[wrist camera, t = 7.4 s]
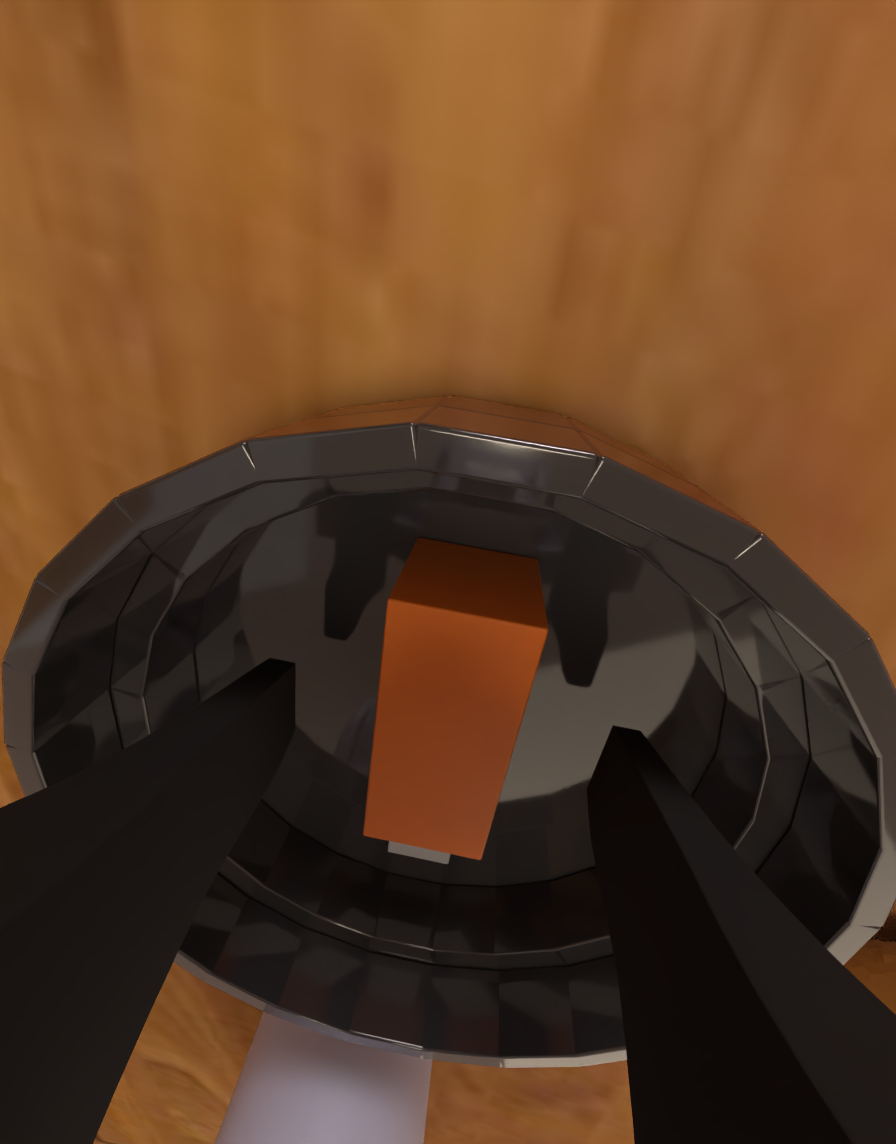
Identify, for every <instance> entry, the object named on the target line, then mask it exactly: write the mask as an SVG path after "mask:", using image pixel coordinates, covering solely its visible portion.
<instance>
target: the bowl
mask: <svg viewBox="0 0 896 1144" xmlns="http://www.w3.org/2000/svg"><path fill="white" fill-rule="evenodd" d="M419 537H420V538H425V539H430V540H436V541H441V542H447V543H452V544H458V545H463V546H468V547H474V548H479V549H485V550H490V551H496V552H501V553H506V554H512V555H517V556H523V557H528V558H534V559H537V560H538V564H539V571H540V577H541V584H542V591H543V597H544V604H545V611H546V617H547V624H548V634H547V638H546V641H545V644H544V648H543V651H542V655H541V658H540V661H539V665H538V668H537V672H536V675H535V678H534V682H533V685H532V689H531V692H530V695H529V699H528V702H527V706H526V709H525V712H524V716H523V719H522V723H521V726H520V729H519V733H518V736H517V740H516V743H515V746H514V750H513V753H512V757H511V760H510V763H509V767H508V770H507V774H506V777H505V780H504V784H503V787H502V791H501V794H500V797H499V801H498V804H497V808H496V811H495V814H494V818H493V821H492V825H491V828H490V831H489V835H488V838H487V842H486V845H485V848H484V852H483V855H482V858H481V860H477V859H472V858H468V857H463V856H458V855H453V854H451V855H450V859H449V863H448V864H444V863H439V862H434V861H430V860H425V859H420V858H415V857H411V856H406V855H401V854H396V853H392V852H388V844H389V841H387V840H382V839H377V838H373V837H368V836H364V835H363V828H364V819H365V809H366V800H367V790H368V781H369V771H370V762H371V752H372V743H373V733H374V724H375V714H376V704H377V695H378V685H379V676H380V666H381V657H382V647H383V638H384V628H385V619H386V609H387V600H388V598H389V596H390V594H391V592H392V590H393V588H394V586H395V583H396V581H397V579H398V577H399V575H400V573H401V571H402V569H403V567H404V565H405V563H406V561H407V559H408V557H409V554H410V552H411V550H412V548H413V546H414V544H415V542H416V540H417V538H419ZM268 658H274V659H279V660H284V661H289V662H294V663H296V692H295V732H294V734H293V736H292V739H291V741H290V743H289V746H288V748H287V750H286V753H285V755H284V757H283V759H282V761H281V764H280V766H279V768H278V770H277V772H276V774H275V776H274V778H273V779H272V781H271V783H270V784H269V786H268V788H267V790H266V791H265V793H264V795H263V796H262V798H261V800H260V802H259V803H258V805H257V807H256V808H255V810H254V812H253V813H252V815H251V817H250V819H249V820H248V822H247V824H246V825H245V827H244V829H243V830H242V832H241V834H240V835H239V837H238V839H237V840H236V842H235V844H234V846H233V847H232V849H231V851H230V852H229V854H228V856H227V857H226V859H225V861H224V862H223V864H222V866H221V867H220V869H219V871H218V873H217V875H216V876H215V878H214V880H213V882H212V884H211V886H210V887H209V889H208V891H207V893H206V895H205V897H204V899H203V901H202V903H201V905H200V907H199V909H198V911H197V913H196V915H195V917H194V919H193V921H192V924H191V926H190V928H189V930H188V932H187V934H186V936H185V938H184V940H183V942H182V944H181V946H180V948H179V950H178V953H177V955H176V957H175V959H174V962H175V963H177V964H178V965H180V966H181V967H183V968H184V969H185V970H187V971H188V972H190V973H191V974H193V975H194V976H196V977H197V978H199V979H201V980H202V981H203V982H205V983H207V984H209V985H211V986H213V987H215V988H217V989H219V990H221V991H223V992H225V993H227V994H230V995H232V996H234V997H236V998H238V999H240V1000H242V1001H244V1002H246V1003H248V1004H250V1005H252V1006H254V1007H256V1008H258V1009H260V1010H262V1011H264V1012H266V1013H268V1014H271V1015H272V1016H275V1017H277V1018H280V1019H283V1020H286V1021H289V1022H292V1023H294V1024H297V1025H300V1026H303V1027H306V1028H308V1029H311V1030H314V1031H317V1032H320V1033H323V1034H325V1035H328V1036H331V1037H334V1038H337V1039H340V1040H342V1041H345V1040H346V1041H347V1042H352V1043H356V1044H360V1045H365V1046H369V1047H373V1048H378V1049H382V1050H387V1051H391V1052H395V1053H400V1054H404V1055H408V1056H413V1057H417V1058H422V1057H423V1059H428V1060H437V1061H446V1062H455V1063H465V1064H474V1065H483V1066H492V1067H504V1068H517V1067H582V1066H583V1065H585V1066H589V1065H596V1064H603V1063H610V1062H616V1061H623V1060H627V1054H626V1045H625V1036H624V1027H623V1019H622V1010H621V1001H620V992H619V984H618V978H617V972H616V966H615V960H614V954H613V949H612V944H611V939H610V934H609V929H608V924H607V919H606V914H605V909H604V904H603V899H602V894H601V889H600V884H599V879H598V874H597V869H596V864H595V859H594V853H593V848H592V843H591V837H590V827H589V816H588V801H587V787H588V784H589V782H590V779H591V777H592V775H593V772H594V770H595V767H596V765H597V762H598V760H599V758H600V755H601V753H602V750H603V748H604V746H605V743H606V741H607V738H608V736H609V733H610V731H611V729H612V726H613V725H614V726H619V727H624V728H630V729H635V730H640V731H641V732H642V733H643V734H644V736H645V737H646V738H647V739H648V741H649V742H650V743H651V744H652V746H653V747H654V748H655V750H656V751H657V752H658V754H659V755H660V756H661V758H662V759H663V760H664V762H665V763H666V764H667V766H668V767H669V768H670V770H671V771H672V772H673V773H674V775H675V776H676V777H677V779H678V780H679V781H680V783H681V784H682V785H683V787H684V788H685V789H686V790H687V792H688V793H689V794H690V796H691V797H692V798H693V799H694V801H695V802H696V803H697V805H698V806H699V807H700V808H701V810H702V811H703V812H704V813H705V815H706V816H707V817H708V818H709V820H710V821H711V822H712V823H713V825H714V826H715V827H716V828H717V829H718V831H719V832H720V833H721V834H722V835H723V837H724V838H725V839H726V840H727V841H728V843H729V844H730V845H731V846H732V847H733V849H734V850H735V851H736V852H737V853H738V854H739V855H740V857H741V858H742V859H743V860H744V861H745V862H746V864H747V865H748V866H749V867H750V868H751V869H752V870H753V872H754V873H755V874H756V875H757V876H758V877H759V878H760V880H761V881H762V882H763V883H764V884H765V885H766V886H767V887H768V888H769V889H770V891H771V892H772V893H773V894H774V895H775V896H776V897H777V898H778V899H779V900H780V901H781V902H782V903H783V905H784V906H785V907H786V908H787V909H788V910H789V911H790V912H791V913H792V914H793V915H794V916H795V917H796V918H797V919H798V920H799V921H800V922H801V923H802V924H803V925H804V926H805V927H806V928H807V929H808V930H809V932H810V933H811V934H812V935H813V936H814V937H815V938H816V939H817V940H818V941H819V942H820V943H821V944H822V945H823V946H824V947H825V948H826V949H827V950H828V951H829V952H830V953H831V954H832V955H833V956H834V957H835V958H836V959H837V960H838V961H839V962H840V963H841V964H842V965H844V964H845V963H846V962H847V961H848V960H849V959H850V958H851V957H852V956H853V955H854V954H856V953H857V952H858V951H859V950H860V949H861V948H862V947H863V946H864V945H865V944H866V943H867V942H868V941H869V940H870V939H871V938H872V937H873V936H874V935H875V934H876V933H877V932H878V931H879V930H880V929H881V927H882V926H884V924H885V922H886V920H887V918H888V916H889V914H890V912H891V910H892V908H893V906H894V903H895V901H896V689H895V687H894V685H893V683H892V680H891V678H890V676H889V674H888V672H887V669H886V667H885V665H884V663H883V661H882V659H881V656H880V654H879V652H878V650H877V648H876V645H875V643H874V641H873V639H872V638H870V636H869V633H868V632H867V631H866V630H865V629H864V628H863V627H862V626H861V625H860V624H859V623H858V622H857V621H855V620H854V619H853V618H852V617H851V616H850V615H849V614H848V613H847V612H846V611H845V610H844V609H843V608H842V607H841V606H840V605H839V604H838V603H837V602H836V601H834V600H833V599H832V598H831V597H830V596H829V595H828V594H827V593H826V592H825V591H824V590H823V589H822V588H821V587H820V586H819V585H818V584H817V583H816V582H815V581H813V580H812V579H811V578H810V577H809V576H808V575H807V574H806V573H805V572H804V571H803V570H802V569H801V568H800V567H799V566H798V565H797V564H796V563H795V562H794V561H792V560H791V559H790V558H789V557H788V556H787V555H786V554H785V553H784V552H783V551H782V550H781V549H780V548H779V547H778V546H777V545H776V544H775V543H774V542H772V541H771V540H770V539H769V538H768V537H767V536H766V535H765V534H764V533H763V532H761V531H760V530H758V529H757V528H755V527H754V526H753V525H751V524H750V523H748V522H747V521H745V520H744V519H743V518H741V517H740V516H738V515H737V514H735V513H734V512H733V511H731V510H730V509H728V508H727V507H725V506H724V505H723V504H721V503H720V502H718V501H717V500H716V499H714V498H713V497H711V496H710V495H708V494H707V493H705V492H704V491H703V490H701V489H700V488H698V487H697V486H696V485H694V484H693V483H691V482H690V481H689V480H687V479H686V478H684V477H683V476H681V475H680V474H679V473H677V472H676V471H674V470H673V469H671V468H670V467H669V466H667V465H665V464H664V463H662V462H661V461H659V460H656V459H654V458H652V457H650V456H648V455H646V454H644V453H642V452H640V451H638V450H636V449H634V448H632V447H630V446H628V445H626V444H624V443H621V442H619V441H617V440H615V439H613V438H611V437H609V436H607V435H605V434H603V433H601V432H599V431H597V430H595V429H593V428H591V427H588V426H586V425H584V424H582V423H580V422H578V421H576V420H574V419H572V418H570V417H564V416H563V415H562V414H558V413H552V412H546V411H541V410H535V409H529V408H523V407H517V406H511V405H506V404H500V403H494V402H488V401H482V400H476V399H471V398H465V397H459V396H451V397H450V398H449V397H448V396H438V397H429V398H420V399H411V400H402V401H393V402H384V403H376V404H367V405H358V406H349V407H344V408H341V409H335V410H332V411H329V412H326V413H323V414H320V415H317V416H314V417H311V418H308V419H305V420H302V421H300V422H296V423H293V424H290V425H287V426H284V427H281V428H278V429H275V430H272V431H269V432H266V433H263V434H260V435H257V436H254V437H251V438H248V439H244V440H241V441H239V442H237V443H235V444H232V445H230V446H228V447H225V448H223V449H221V450H219V451H216V452H214V453H212V454H209V455H207V456H205V457H203V458H200V459H198V460H196V461H194V462H191V463H189V464H187V465H184V466H182V467H180V468H178V469H175V470H173V471H171V472H169V473H166V474H164V475H162V476H159V477H157V478H155V479H153V480H150V481H148V482H146V483H143V484H141V485H139V486H137V487H134V488H132V489H130V490H128V491H125V492H123V493H121V494H120V495H119V496H118V497H115V498H113V499H112V500H111V501H110V502H109V503H108V504H107V505H106V506H105V507H104V508H103V509H102V510H101V511H100V512H99V513H98V514H97V515H96V516H95V517H94V518H93V519H92V520H91V521H90V522H89V523H88V524H87V525H86V526H85V527H84V528H83V529H82V530H81V531H80V532H79V533H78V534H77V535H76V536H75V537H74V538H73V539H72V540H71V541H70V542H69V543H68V544H67V545H66V546H65V547H64V548H63V549H62V550H61V551H60V552H59V553H58V554H57V555H56V556H55V557H54V558H53V559H52V560H51V561H50V562H49V563H48V564H47V565H46V566H45V567H44V568H43V569H42V570H41V571H40V572H39V573H38V574H37V577H36V578H35V579H34V582H33V584H32V587H31V589H30V592H29V595H28V597H27V600H26V602H25V605H24V607H23V610H22V613H21V615H20V618H19V620H18V623H17V625H16V628H15V630H14V633H13V636H12V638H11V641H10V643H9V646H8V648H7V651H6V654H5V656H4V659H3V660H4V661H3V663H2V687H3V717H4V743H5V744H6V748H7V751H8V753H9V756H10V758H11V761H12V764H13V766H14V769H15V772H16V774H17V777H18V779H19V782H20V785H21V787H22V790H23V793H24V795H25V797H26V796H29V795H31V794H33V793H35V792H38V791H40V790H42V789H44V788H47V787H49V786H51V785H53V784H56V783H58V782H60V781H62V780H64V779H66V778H68V777H70V776H73V775H75V774H77V773H78V772H80V771H82V770H84V769H86V768H88V767H90V766H92V765H94V764H96V763H98V762H100V761H102V760H104V759H106V758H108V757H110V756H112V755H114V754H116V753H118V752H119V751H121V750H123V749H125V748H127V747H129V746H130V745H132V744H134V743H136V742H138V741H139V740H141V739H143V738H144V737H146V736H148V735H149V734H151V733H153V732H154V731H156V730H158V729H160V728H161V727H163V726H165V725H166V724H168V723H170V722H171V721H173V720H175V719H176V718H178V717H180V716H181V715H183V714H185V713H186V712H188V711H189V710H191V709H192V708H194V707H195V706H197V705H199V704H200V703H202V702H203V701H205V700H206V699H208V698H209V697H211V696H213V695H214V694H216V693H217V692H219V691H220V690H222V689H223V688H225V687H226V686H228V685H229V684H231V683H232V682H234V681H235V680H237V679H238V678H240V677H241V676H243V675H244V674H246V673H247V672H249V671H250V670H252V669H253V668H255V667H256V666H258V665H259V664H261V663H262V662H264V661H265V660H267V659H268Z"/></svg>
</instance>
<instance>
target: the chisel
mask: <svg viewBox="0 0 896 1144" xmlns="http://www.w3.org/2000/svg"><path fill="white" fill-rule="evenodd" d="M547 634H548V624H547V617H546V611H545V604H544V597H543V591H542V584H541V577H540V571H539V564H538V560H537V559H534V558H528V557H523V556H517V555H512V554H506V553H501V552H496V551H490V550H485V549H479V548H474V547H468V546H463V545H458V544H452V543H447V542H441V541H436V540H430V539H425V538H420V537H419V538H417V540H416V542H415V544H414V546H413V548H412V550H411V552H410V554H409V557H408V559H407V561H406V563H405V565H404V567H403V569H402V571H401V573H400V575H399V577H398V579H397V581H396V583H395V586H394V588H393V590H392V592H391V594H390V596H389V598H388V600H387V609H386V619H385V628H384V638H383V647H382V657H381V666H380V676H379V685H378V695H377V704H376V714H375V724H374V733H373V743H372V752H371V762H370V771H369V781H368V790H367V800H366V809H365V819H364V828H363V835H364V836H368V837H373V838H377V839H382V840H387V841H389V844H388V852H392V853H396V854H401V855H406V856H411V857H415V858H420V859H425V860H430V861H434V862H439V863H444V864H448V863H449V859H450V855H451V854H453V855H458V856H463V857H468V858H472V859H477V860H481V858H482V855H483V852H484V848H485V845H486V842H487V838H488V835H489V831H490V828H491V825H492V821H493V818H494V814H495V811H496V808H497V804H498V801H499V797H500V794H501V791H502V787H503V784H504V780H505V777H506V774H507V770H508V767H509V763H510V760H511V757H512V753H513V750H514V746H515V743H516V740H517V736H518V733H519V729H520V726H521V723H522V719H523V716H524V712H525V709H526V706H527V702H528V699H529V695H530V692H531V689H532V685H533V682H534V678H535V675H536V672H537V668H538V665H539V661H540V658H541V655H542V651H543V648H544V644H545V641H546V638H547Z"/></svg>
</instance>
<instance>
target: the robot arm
mask: <svg viewBox="0 0 896 1144" xmlns="http://www.w3.org/2000/svg"><path fill="white" fill-rule="evenodd" d="M295 692H296V663H294V662H289V661H284V660H279V659H274V658H268V659H267V660H265V661H264V662H262V663H261V664H259V665H258V666H256V667H255V668H253V669H252V670H250V671H249V672H247V673H246V674H244V675H243V676H241V677H240V678H238V679H237V680H235V681H234V682H232V683H231V684H229V685H228V686H226V687H225V688H223V689H222V690H220V691H219V692H217V693H216V694H214V695H213V696H211V697H209V698H208V699H206V700H205V701H203V702H202V703H200V704H199V705H197V706H195V707H194V708H192V709H191V710H189V711H188V712H186V713H185V714H183V715H181V716H180V717H178V718H176V719H175V720H173V721H171V722H170V723H168V724H166V725H165V726H163V727H161V728H160V729H158V730H156V731H154V732H153V733H151V734H149V735H148V736H146V737H144V738H143V739H141V740H139V741H138V742H136V743H134V744H132V745H130V746H129V747H127V748H125V749H123V750H121V751H119V752H118V753H116V754H114V755H112V756H110V757H108V758H106V759H104V760H102V761H100V762H98V763H96V764H94V765H92V766H90V767H88V768H86V769H84V770H82V771H80V772H78V773H77V774H75V775H73V776H70V777H68V778H66V779H64V780H62V781H60V782H58V783H56V784H53V785H51V786H49V787H47V788H44V789H42V790H40V791H38V792H35V793H33V794H31V795H29V796H26V797H24V798H22V799H20V800H17V801H15V802H13V803H11V804H8V805H6V806H4V807H2V808H0V1144H93V1142H94V1139H95V1137H96V1135H97V1132H98V1130H99V1128H100V1125H101V1123H102V1121H103V1118H104V1116H105V1113H106V1111H107V1109H108V1106H109V1104H110V1102H111V1099H112V1097H113V1094H114V1092H115V1090H116V1087H117V1085H118V1083H119V1081H120V1078H121V1076H122V1074H123V1072H124V1069H125V1067H126V1065H127V1063H128V1060H129V1058H130V1056H131V1054H132V1051H133V1049H134V1047H135V1045H136V1042H137V1040H138V1038H139V1036H140V1033H141V1031H142V1029H143V1027H144V1024H145V1022H146V1020H147V1018H148V1015H149V1013H150V1011H151V1009H152V1006H153V1004H154V1002H155V1000H156V998H157V996H158V994H159V991H160V989H161V987H162V985H163V983H164V981H165V978H166V976H167V974H168V972H169V970H170V968H171V966H172V963H173V961H174V959H175V957H176V955H177V953H178V950H179V948H180V946H181V944H182V942H183V940H184V938H185V936H186V934H187V932H188V930H189V928H190V926H191V924H192V921H193V919H194V917H195V915H196V913H197V911H198V909H199V907H200V905H201V903H202V901H203V899H204V897H205V895H206V893H207V891H208V889H209V887H210V886H211V884H212V882H213V880H214V878H215V876H216V875H217V873H218V871H219V869H220V867H221V866H222V864H223V862H224V861H225V859H226V857H227V856H228V854H229V852H230V851H231V849H232V847H233V846H234V844H235V842H236V840H237V839H238V837H239V835H240V834H241V832H242V830H243V829H244V827H245V825H246V824H247V822H248V820H249V819H250V817H251V815H252V813H253V812H254V810H255V808H256V807H257V805H258V803H259V802H260V800H261V798H262V796H263V795H264V793H265V791H266V790H267V788H268V786H269V784H270V783H271V781H272V779H273V778H274V776H275V774H276V772H277V770H278V768H279V766H280V764H281V761H282V759H283V757H284V755H285V753H286V750H287V748H288V746H289V743H290V741H291V739H292V736H293V734H294V732H295ZM587 801H588V816H589V827H590V837H591V843H592V848H593V853H594V859H595V864H596V869H597V874H598V879H599V884H600V889H601V894H602V899H603V904H604V909H605V914H606V919H607V924H608V929H609V934H610V939H611V944H612V949H613V954H614V960H615V966H616V972H617V978H618V984H619V992H620V1001H621V1010H622V1019H623V1027H624V1036H625V1045H626V1054H627V1065H628V1075H629V1085H630V1096H631V1106H632V1116H633V1128H634V1141H635V1144H896V1014H894V1013H893V1012H892V1011H891V1010H890V1009H889V1008H888V1007H887V1006H886V1005H885V1004H884V1003H883V1002H882V1001H881V1000H879V999H878V998H877V997H876V996H875V995H874V994H873V993H872V992H871V991H870V990H869V989H868V988H867V987H866V986H865V985H864V984H863V983H861V982H860V981H859V980H858V979H857V978H856V977H855V976H854V975H853V974H852V973H851V972H850V971H849V970H848V969H847V968H846V967H845V966H843V965H842V964H841V963H840V962H839V961H838V960H837V959H836V958H835V957H834V956H833V955H832V954H831V953H830V952H829V951H828V950H827V949H826V948H825V947H824V946H823V945H822V944H821V943H820V942H819V941H818V940H817V939H816V938H815V937H814V936H813V935H812V934H811V933H810V932H809V930H808V929H807V928H806V927H805V926H804V925H803V924H802V923H801V922H800V921H799V920H798V919H797V918H796V917H795V916H794V915H793V914H792V913H791V912H790V911H789V910H788V909H787V908H786V907H785V906H784V905H783V903H782V902H781V901H780V900H779V899H778V898H777V897H776V896H775V895H774V894H773V893H772V892H771V891H770V889H769V888H768V887H767V886H766V885H765V884H764V883H763V882H762V881H761V880H760V878H759V877H758V876H757V875H756V874H755V873H754V872H753V870H752V869H751V868H750V867H749V866H748V865H747V864H746V862H745V861H744V860H743V859H742V858H741V857H740V855H739V854H738V853H737V852H736V851H735V850H734V849H733V847H732V846H731V845H730V844H729V843H728V841H727V840H726V839H725V838H724V837H723V835H722V834H721V833H720V832H719V831H718V829H717V828H716V827H715V826H714V825H713V823H712V822H711V821H710V820H709V818H708V817H707V816H706V815H705V813H704V812H703V811H702V810H701V808H700V807H699V806H698V805H697V803H696V802H695V801H694V799H693V798H692V797H691V796H690V794H689V793H688V792H687V790H686V789H685V788H684V787H683V785H682V784H681V783H680V781H679V780H678V779H677V777H676V776H675V775H674V773H673V772H672V771H671V770H670V768H669V767H668V766H667V764H666V763H665V762H664V760H663V759H662V758H661V756H660V755H659V754H658V752H657V751H656V750H655V748H654V747H653V746H652V744H651V743H650V742H649V741H648V739H647V738H646V737H645V736H644V734H643V733H642V732H641V731H640V730H635V729H630V728H624V727H619V726H614V725H613V726H612V729H611V731H610V733H609V736H608V738H607V741H606V743H605V746H604V748H603V750H602V753H601V755H600V758H599V760H598V762H597V765H596V767H595V770H594V772H593V775H592V777H591V779H590V782H589V784H588V787H587ZM431 1066H432V1060H428V1059H423V1057H422V1058H417V1057H413V1056H408V1055H404V1054H400V1053H395V1052H391V1051H387V1050H382V1049H378V1048H373V1047H369V1046H365V1045H360V1044H356V1043H352V1042H347V1041H346V1040H345V1041H342V1040H340V1039H337V1038H334V1037H331V1036H328V1035H325V1034H323V1033H320V1032H317V1031H314V1030H311V1029H308V1028H306V1027H303V1026H300V1025H297V1024H294V1023H292V1022H289V1021H286V1020H283V1019H280V1018H277V1017H275V1016H272V1015H271V1014H268V1013H266V1012H264V1011H263V1014H262V1016H261V1019H260V1022H259V1025H258V1027H257V1030H256V1033H255V1035H254V1038H253V1041H252V1043H251V1046H250V1049H249V1052H248V1054H247V1057H246V1060H245V1062H244V1065H243V1068H242V1071H241V1073H240V1076H239V1079H238V1081H237V1084H236V1087H235V1089H234V1092H233V1095H232V1098H231V1100H230V1103H229V1106H228V1108H227V1111H226V1114H225V1116H224V1119H223V1122H222V1125H221V1127H220V1130H219V1133H218V1135H217V1138H216V1141H215V1144H423V1142H424V1133H425V1123H426V1114H427V1104H428V1095H429V1085H430V1076H431Z"/></svg>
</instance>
